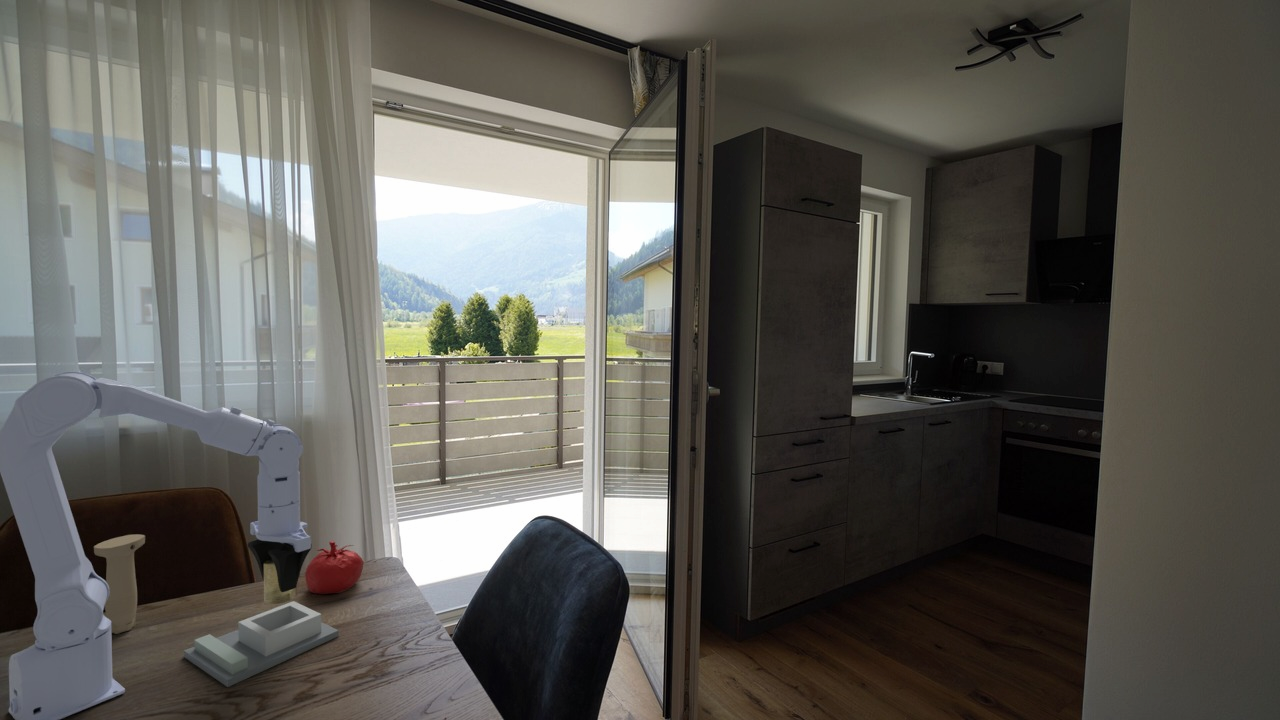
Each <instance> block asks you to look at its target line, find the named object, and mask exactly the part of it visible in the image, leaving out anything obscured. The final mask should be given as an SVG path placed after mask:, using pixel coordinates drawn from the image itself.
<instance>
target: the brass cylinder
mask: <svg viewBox="0 0 1280 720" xmlns="http://www.w3.org/2000/svg"><path fill="white" fill-rule="evenodd" d="M297 586H298V585H297ZM297 586H296V588H294V589H291V590H288V591H286V592H281V591H280V588H279V584H278V577H277V571H276V567H275V564H274V562H273V560H272V559H269V560H267V561H265V562H264V581H263V602H264V603H265V604H268V605H278V604H279V605H280V604H283V603H284V604H285V603H287V602H291V601H292V600H294V599H295V598H296V597H297Z"/></svg>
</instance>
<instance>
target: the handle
mask: <svg viewBox="0 0 1280 720" xmlns="http://www.w3.org/2000/svg"><path fill="white" fill-rule="evenodd" d="M145 543H146V535H145V534H137V533H136V534H126V535H123V536H117V537H114V538H110V539H108V540H104V541H102V542H100V543H97V544H96V545H94V546H93V553H94V555H95V556H97V557H103V558H105V559H106V561H105V562H106V573H105V575H106V577H105V581H106V582H107V584H108V586H109V591H110V593H109V597H108V600H107V601H106V603H105V606H104V610H105V617H106V618H108V619H109V620H111V634H115V635H116V634H117V635H118V634H120V633H124V632H128V631H130V630H132V629H133V627H134V626H135V625H136V620H137V618H136V616H137V610H138V609H137V607H138V587H137V578H136V567H135V565H136V564H135V552H136V551H137V550H138V549H139V548H141V547H143V545H145Z"/></svg>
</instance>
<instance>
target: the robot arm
mask: <svg viewBox="0 0 1280 720" xmlns="http://www.w3.org/2000/svg"><path fill="white" fill-rule="evenodd" d="M95 410H99V415H98V416H99V418H104V417H111V416H112V417H114V416H120V415H127V414H129V415H136V416H138V417H142V418H146V419H150V420H153V421H157V422H161V423H164V424H168V425H172V426H176V427H179V428H183V429H186V430H190V431H194V432H196V434H197V436H198V438H199V440H200V442H201V443H202V444H205V445H208V446H212V447H214V448H215V447H216V448H218V449H222V450H225V451H228V452H231V453H235V454H239V455H243V456H246V457H253V456H256V457H259V459H258V475H257V478H256V479H257V481H256V482H257V483H256V485H257V521H252V522H250V524H249V526H250V527H249V528H250V529H249V531H250V535H252V536H255V538H256V540H252V541H250V542H247V547H248V549H249V550H250V551H251V553H252V554H253V556H254V559H255V560H256V563H257V565H258V568H259V571H260V575H261V579H262V581H263V582H264V562H265V561H267V560H269V559H272V560H273V562H274V564H275V567H276V571H277V577H278V584H279V588H280V591H281V592H286V591H288V590H291V589H294V588H296V586H298V582H299V579H300V574H301V570H302V567H303V564H304V562H305V560H306V558H307V556H308V555H309V553H310V551H311V550H312V536H311V535H308V533H306V531H305V529H307V528H308V523H307V522H304V521H301V472H300V469H299V467H300V460H299V459H300V458H301V456H302V455H303V452H304V446H303V445H302V441H301V439H300V437H299V436H298V435H297V434H296V433H295V432H294V431H293V429H291V428H289V427H287V426H285V425H283V424H281V423H280V424H279V423H277V424H275V423H276V421H274V420H271V419H266V420H262V419H259V418H256V417H253V416H250V415H248V414H245V413H242V412H243V410H242V409H241V408H240V407H237V406H231V408H227V407H223V406H221V407H218V408H214V409H211V410H208V411H207V410H204V409H201V408H198V407H195V406H193V405H190V404H187V403H185V402H181V401H179V400H176V399H174V398H171V397H168V396H164V395H162V394H160V393H157V392H154V391H151V390H148V389H145V388H143V387H139V386H137V385H134V384H129V383H126V382H122V381H119V380H114V379H111V378H105V377H98V378H96V377H95V376H93V375H91V374H89V373H86V372H82V371H65V372H61V373H58V374H56V375H53V376H49V377H46V378H44V379H41V380H40V381H38V382H36V383H35V384H34V385H32V386H31V387H30V388H29V389H28V390H26V391H25V392H24V393H22V394H21V395H20V396H18V397H17V398H16V399H15V401H14V404H13V407H12V409H11V411H10V413H9V415H8V417H7V418H6V420H5V422H4V423H3V424H2V425H3V426H2V427H1V429H0V476H1V478H2V482H3V484H4V488H5V492H6V493H7V497H8V500H9V503H10V506H11V509H12V512H13V515H14V517H15V521H16V524H17V527H18V530H19V533H20V536H21V539H22V542H23V545H24V548H25V552H26V554H27V557H28V561H29V563H30V567H31V570H32V572H33V575H34V580H35V581H34V600H35V604H36V608H37V613H36V614H37V615H36V617H35V619H34V623H33V627H32V628H33V629H32V630H33V634H34V637H35V642H34V644H32V645H30V646H28V647H27V648H25V649H22V650H20V651H18V652H16V653H13V654H11V655H10V657H9V661H8V682H9V683H8V687H9V688H8V689H9V708H8V712H9V714H10V716H12V718H13V719H14V720H62V719H65V718H66V717H69V716H71V715H74V714H76V713H79V712H81V711H83V710H86V709H88V708H92V707H93V706H96V705H98V704H101V703H103V702H106V701H108V700H110V699H113V698H115V697H117V696H120V695H122V694H124V693H125V692H126V688H125V687H123V686H122V685H121V684H120V683H119V682H118V681H116V680H115V678H114V677H113V651H112V650H113V646H112V645H113V644H112V643H113V640H112V633H111V620H109V619H108V618H106V615H105V614H104V610H105V603H106V601H107V600H108V597H109V593H110V591H109V586H108V584H107V582H106V579H104V578H102V577H101V576H99V575H98V574H97V573H96V572H95V570H94V566H93V565H92V562H91V561H90V560H89V558H88V557H87V556H86V554H85V551H84V548H83V545H82V541H81V538H80V535H79V532H78V528H77V526H76V522H75V519H74V516H73V513H72V510H71V507H70V503H69V499H68V498H67V494H66V490H65V487H64V483H63V481H62V478H61V477H62V476H61V474H60V472H59V468H58V465H57V461H56V459H55V455H54V453H53V449H52V447H53V446H54V445H55V443H57V442H58V441H59V439H61V437H62V436H63V435H64V434H65V433H66V432H68V430H69V429H70V428H71V427H73V426H75V425H76V424H78V423H80V422H81V421H83V420H84V419H86V418H87V417H89V416H90V415H91V414H92V413H93V412H94V411H95Z"/></svg>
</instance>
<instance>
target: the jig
mask: <svg viewBox="0 0 1280 720" xmlns="http://www.w3.org/2000/svg"><path fill="white" fill-rule="evenodd" d="M237 626H238V627H237V628H238V629H236V630H234V631H233V630H232V631H230V632H228V633H225V634H223V635H220V636H218V637H215V636H214V635H212V634H210V633H209V634H206V635H203V636H201V637H198V638H196V639H194V640H193V641H194V644H193V645H194V646H192V647H190V648H186V649H184V650H183V658H185V659H186V660H187V661H189V662H191V663H192V664H193V665H195V666H197V668H199V669H200V670H202V671H203V672H205V673H206V674H208V675H209V676H211V677H212V678H214V679H216V680H217V681H218V682H219V683H221V685H224V686H225V687H227V688H229V687H232V686H234V685H236V684H238V683H240V682H242V681H245V680H246V679H249V678H251V677H253V676H255V675H257V674H260V673H261V672H264V671H266V670H268V669H270V668H272V667H275V666H277V665H279V664H282V663H283V662H286V661H288V660H290V659H292V658H294V657H297V656H299V655H300V654H303V653H305V652H308V651H310V650H311V649H314V648H316V647H318V646H321V645H323V644H325V643H326V642H329V641H331V640H333V639H337V638H338V637H339V630H338V629H336V628H334V627H332V626H331V625H329V624H327V623H324V622H322V613H320V612H318V611H315V610H313V609H311V608H309V607H307V606H305V605H303V604H300V603H299V602H296V601H294V600H293V601H292V600H291V601H289V602H288V603H287V602H286V603H284V604H282V605H279V606H277V607H273V608H271V609H269V610H267V611H266V610H265V611H263V612H261V613H259V614H256V615H253V616H251V617H247V618H246V619H242V620H240V621H238V622H237Z"/></svg>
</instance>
